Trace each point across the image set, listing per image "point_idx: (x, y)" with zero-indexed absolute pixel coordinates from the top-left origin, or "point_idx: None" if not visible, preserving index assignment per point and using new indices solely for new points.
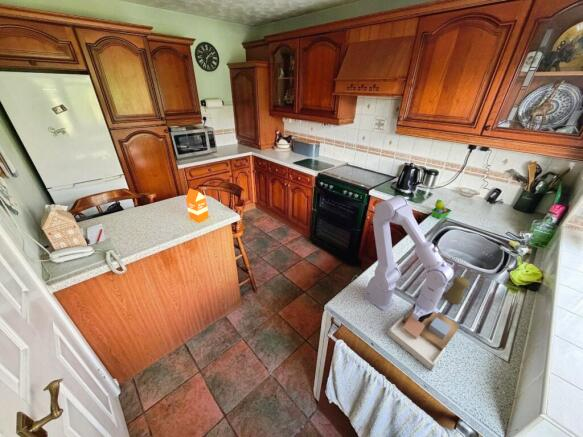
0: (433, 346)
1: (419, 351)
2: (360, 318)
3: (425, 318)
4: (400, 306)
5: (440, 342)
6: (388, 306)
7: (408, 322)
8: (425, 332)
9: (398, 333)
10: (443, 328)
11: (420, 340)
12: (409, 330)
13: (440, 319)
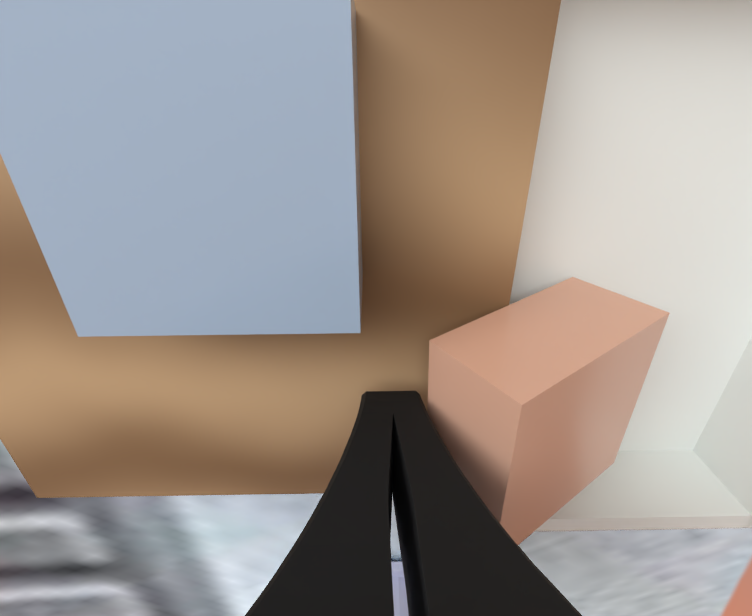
0: None
1: (745, 174)
2: (661, 592)
3: (571, 606)
4: (292, 517)
5: (461, 13)
6: (397, 566)
7: (560, 495)
8: (455, 272)
9: (633, 415)
10: (198, 116)
11: (559, 241)
12: (623, 415)
13: (8, 239)
